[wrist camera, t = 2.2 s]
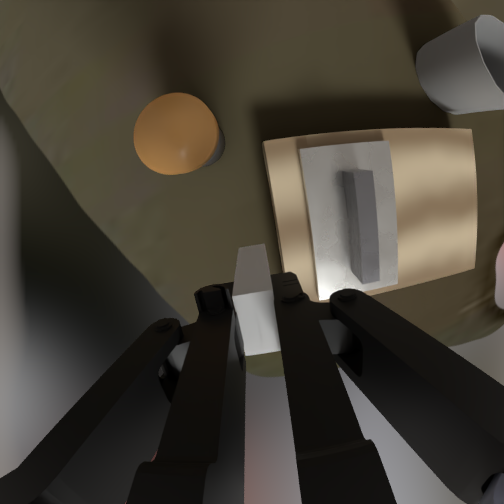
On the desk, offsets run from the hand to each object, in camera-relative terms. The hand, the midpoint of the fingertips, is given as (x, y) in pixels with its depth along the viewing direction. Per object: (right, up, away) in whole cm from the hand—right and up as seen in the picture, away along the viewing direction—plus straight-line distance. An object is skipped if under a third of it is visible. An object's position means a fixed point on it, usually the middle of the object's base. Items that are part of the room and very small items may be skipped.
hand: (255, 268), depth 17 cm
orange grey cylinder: (-4, +10, +7) cm, 13 cm away
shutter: (+8, +3, +5) cm, 10 cm away
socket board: (+12, +5, +8) cm, 15 cm away
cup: (+20, +19, +4) cm, 28 cm away
